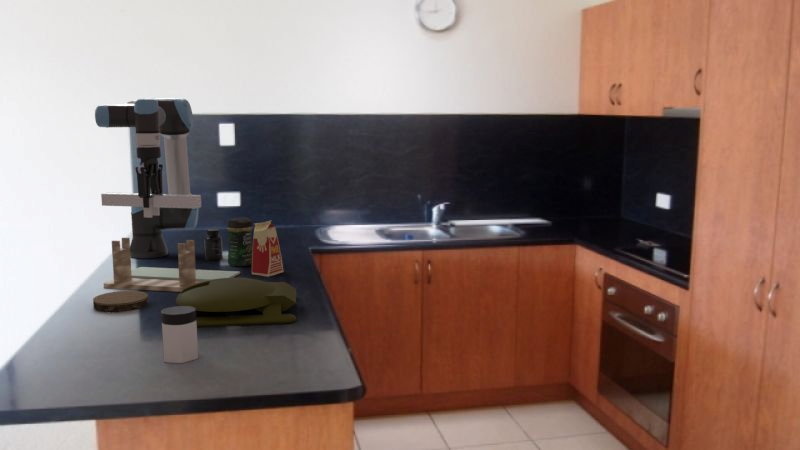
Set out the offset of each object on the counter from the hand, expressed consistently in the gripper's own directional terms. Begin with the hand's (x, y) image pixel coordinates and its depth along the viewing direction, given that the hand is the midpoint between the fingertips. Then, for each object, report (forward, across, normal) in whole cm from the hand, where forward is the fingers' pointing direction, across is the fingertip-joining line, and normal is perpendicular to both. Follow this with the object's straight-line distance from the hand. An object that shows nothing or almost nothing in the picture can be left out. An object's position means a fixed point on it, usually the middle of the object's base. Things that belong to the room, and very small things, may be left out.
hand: (151, 216), depth 246 cm
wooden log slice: (+25, -24, -2) cm, 35 cm away
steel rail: (-3, 0, 0) cm, 3 cm away
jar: (+24, -65, -43) cm, 82 cm away
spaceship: (+25, -23, -40) cm, 52 cm away
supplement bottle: (+25, +48, +1) cm, 54 cm away
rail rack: (+24, 0, 0) cm, 24 cm away
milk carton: (+25, +28, -29) cm, 47 cm away
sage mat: (+24, +18, 0) cm, 30 cm away
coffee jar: (+25, +40, -14) cm, 49 cm away
